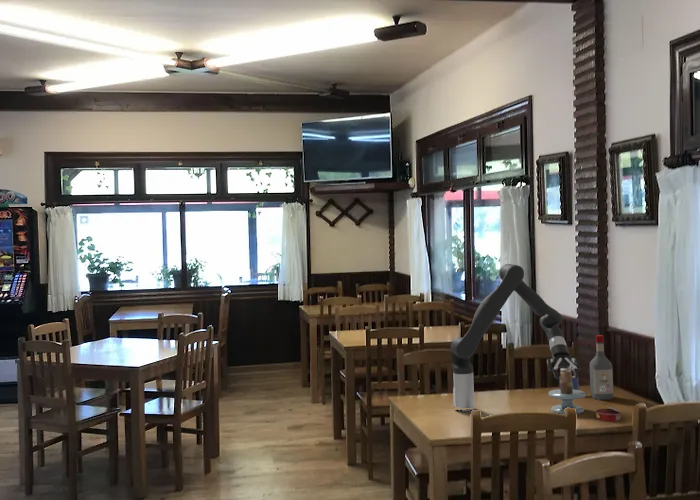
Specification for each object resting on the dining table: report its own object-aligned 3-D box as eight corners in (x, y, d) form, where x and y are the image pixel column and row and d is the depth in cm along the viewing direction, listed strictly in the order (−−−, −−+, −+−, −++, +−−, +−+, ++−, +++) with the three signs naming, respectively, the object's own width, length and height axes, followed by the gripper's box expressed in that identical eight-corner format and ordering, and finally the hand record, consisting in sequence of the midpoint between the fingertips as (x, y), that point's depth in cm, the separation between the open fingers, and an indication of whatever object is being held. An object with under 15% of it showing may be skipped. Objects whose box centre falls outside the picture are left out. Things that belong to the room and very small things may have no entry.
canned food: (600, 426, 305) (601, 403, 309) (624, 426, 299) (624, 403, 303) (590, 419, 298) (591, 396, 302) (614, 419, 291) (615, 396, 295)
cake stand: (554, 415, 308) (554, 397, 307) (545, 406, 324) (544, 389, 323) (591, 414, 307) (590, 396, 307) (579, 405, 323) (578, 388, 323)
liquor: (614, 399, 332) (612, 336, 331) (595, 400, 332) (593, 337, 331) (608, 395, 341) (605, 333, 340) (589, 395, 341) (587, 334, 340)
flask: (578, 393, 346) (577, 372, 345) (579, 395, 343) (578, 373, 343) (559, 393, 348) (558, 372, 347) (559, 395, 345) (558, 373, 345)
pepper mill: (562, 394, 313) (561, 370, 313) (559, 391, 318) (558, 367, 318) (574, 393, 313) (573, 369, 313) (570, 391, 318) (569, 367, 318)
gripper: (544, 344, 322) (552, 373, 311) (575, 342, 322) (584, 372, 311) (542, 353, 328) (549, 383, 317) (572, 352, 328) (581, 381, 316)
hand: (567, 377), depth 314 cm, fingers open, 8 cm apart
